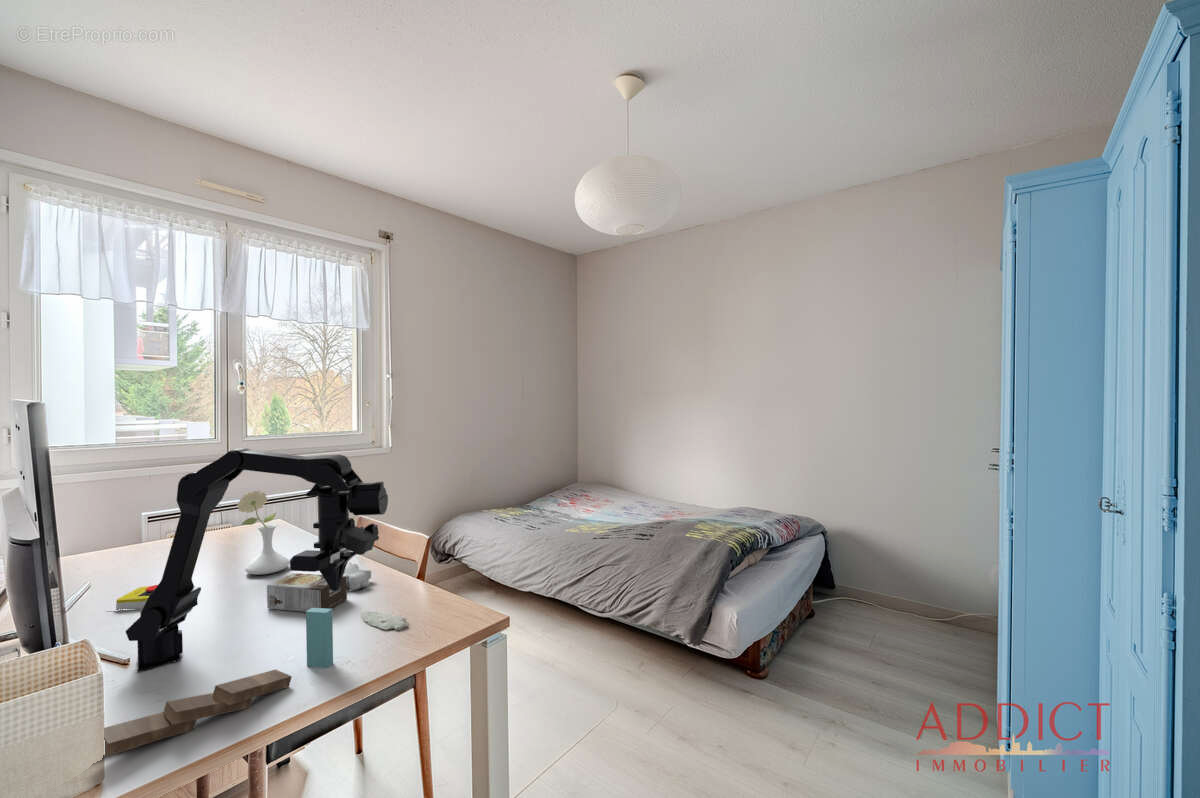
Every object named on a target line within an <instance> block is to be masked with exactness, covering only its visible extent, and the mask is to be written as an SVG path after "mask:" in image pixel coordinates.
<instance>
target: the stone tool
mask: <svg viewBox="0 0 1200 798" xmlns="http://www.w3.org/2000/svg"><path fill="white" fill-rule="evenodd" d="M360 615H361V618H362V620H363V621H364V622H365V623H367V624H368V625H370V626H371V627H375V628H379V629H380V630H383V631H388V630H392V629H394V630H395V631H401V630H403V629H404V628H405V627H407V626H408V625H409V622H406V620H407V619H408V618H406V617H404V616H401V615H395V614H394V615H393V614H387V613H382V612H378V611H369V610H364V611H361V613H360Z"/></svg>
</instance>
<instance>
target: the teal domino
mask: <svg viewBox="0 0 1200 798" xmlns="http://www.w3.org/2000/svg"><path fill="white" fill-rule="evenodd" d="M333 620H334V619H333V608H331V609H326V608H311V609H309V610H308V611H306V612H305V621H306V622H305V627H306V629H305V630H306V631H305V632H306V633H305V636H306V637H305V639H306V667H309V668H310V667H311V668H313V667H314V668H322V669H323V668H327V669H328V668H329V667H330V666H331V665H333V664H334V642H333V641H334V635H333V634H334V633H333V631H334V629H333V627H334V626H333ZM332 663H333V664H332Z"/></svg>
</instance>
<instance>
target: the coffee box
mask: <svg viewBox="0 0 1200 798" xmlns="http://www.w3.org/2000/svg"><path fill="white" fill-rule="evenodd" d="M347 591H348V587H347V584H346V576H343V577H342V580H341V583H340V587H339V589H338V590H336V591H332V590H331V588H330V587H329V585H328V584H327V582H326V580H325V579H324V577H323V576H322V574H316V573H303V572H302V573H299V572H293V573H291V574H289V575H286V576H284V577H281V578H279V579H277V580H275V581H273V582H271V583H270V582H269V583H267V585H266V605H267V606H266V607H267V609H269V610H270V609H271V610H279V611H280V610H282V611H295V612H303V613H304V612H305V613H306V611H308V610H309V609H311V608H326V609H334V608H335V607H336V606H338V605H340V604H342V603H344V602H346V601H347V600H348V592H347ZM343 601H344V602H343Z"/></svg>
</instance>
